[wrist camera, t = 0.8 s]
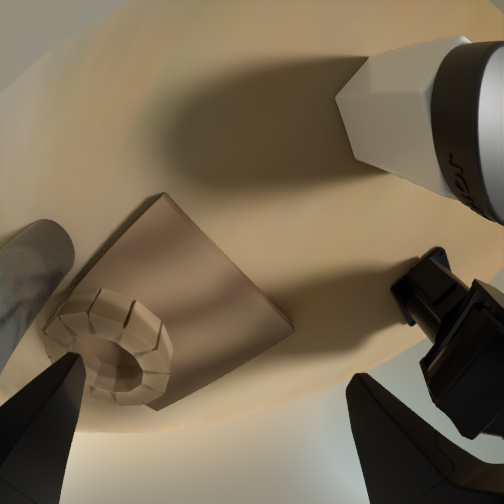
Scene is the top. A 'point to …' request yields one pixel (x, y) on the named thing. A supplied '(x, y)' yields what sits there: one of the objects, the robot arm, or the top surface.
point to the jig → (162, 314)
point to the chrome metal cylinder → (30, 278)
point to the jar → (433, 118)
